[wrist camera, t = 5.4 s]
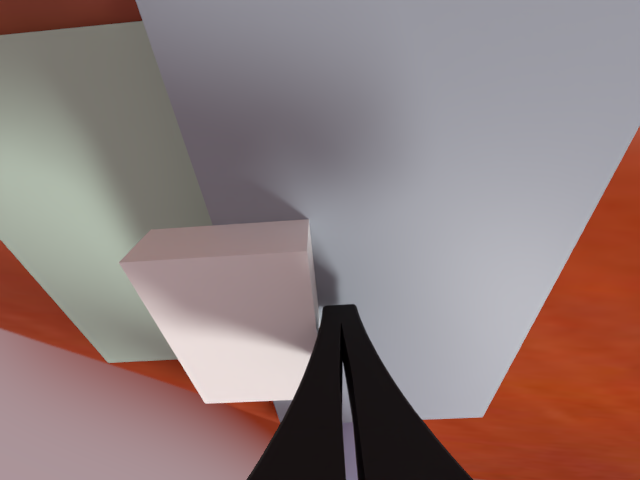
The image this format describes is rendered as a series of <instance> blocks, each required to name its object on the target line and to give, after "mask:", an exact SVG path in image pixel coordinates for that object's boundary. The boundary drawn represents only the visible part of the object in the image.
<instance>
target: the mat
mask: <svg viewBox="0 0 640 480" xmlns="http://www.w3.org/2000/svg"><path fill="white" fill-rule="evenodd" d="M197 226H212V222H211V219H210V216H209V213H208V210H207V207H206V204H205V201H204V198H203V195H202V193H201V190H200V187H199V184H198V181H197V178H196V175H195V172H194V169H193V166H192V163H191V160H190V158H189V155H188V152H187V149H186V146H185V143H184V140H183V137H182V134H181V131H180V128H179V126H178V123H177V120H176V117H175V114H174V111H173V108H172V105H171V102H170V99H169V96H168V93H167V91H166V88H165V85H164V82H163V79H162V76H161V73H160V70H159V67H158V64H157V61H156V58H155V56H154V53H153V50H152V47H151V44H150V41H149V38H148V35H147V32H146V29H145V26H144V23H143V21H137V22H127V23H117V24H107V25H97V26H87V27H77V28H67V29H57V30H47V31H37V32H27V33H17V34H7V35H0V240H1V241H2V242H3V243H4V244H5V245H6V246H7V248H8V249H9V250H10V251H11V252H12V253H13V254H14V256H15V257H16V258H17V259H18V260H19V261H20V262H21V264H22V265H23V266H24V267H25V268H26V269H27V270H28V272H29V273H30V274H31V275H32V276H33V277H34V278H35V280H36V281H37V282H38V283H39V284H40V285H41V286H42V288H43V289H44V290H45V291H46V292H47V293H48V294H49V296H50V297H51V298H52V299H53V300H54V301H55V302H56V304H57V305H58V306H59V307H60V308H61V309H62V310H63V312H64V313H65V314H66V315H67V316H68V317H69V319H70V320H71V321H72V322H73V323H74V324H75V325H76V327H77V328H78V329H79V330H80V331H81V332H82V333H83V335H84V336H85V337H86V338H87V339H88V340H89V341H90V343H91V344H92V345H93V346H94V347H95V348H96V349H97V351H98V352H99V353H100V354H101V355H102V356H103V357H104V359H105V360H106V361H107V362H108V363H115V362H135V361H155V360H175V359H178V358H177V357H176V355H175V354H174V352H173V350H172V349H171V347H170V345H169V344H168V342H167V341H166V339H165V337H164V336H163V334H162V332H161V331H160V329H159V327H158V326H157V324H156V323H155V321H154V319H153V318H152V316H151V314H150V313H149V311H148V310H147V308H146V306H145V305H144V303H143V301H142V300H141V298H140V297H139V295H138V293H137V292H136V290H135V288H134V287H133V285H132V284H131V282H130V280H129V279H128V277H127V275H126V274H125V272H124V270H123V269H122V267H121V266H120V264H119V262H120V261H121V260H122V259H123V258H124V257H125V256H126V255H127V254H128V253H129V251H130V250H131V249H132V248H133V247H134V246H135V245H136V244H137V243H138V242H139V241H140V240H141V239H142V238H143V237H144V236H145V235H146V234H147V233H148V232H149V231H150V230H151V229H166V228H182V227H197Z"/></svg>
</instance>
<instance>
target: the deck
mask: <svg viewBox="0 0 640 480" xmlns="http://www.w3.org/2000/svg"><path fill="white" fill-rule="evenodd" d="M136 3H137V6H138V9H139V12H140V15H141V18H142V21H143V23H144V26H145V29H146V32H147V35H148V38H149V41H150V44H151V47H152V50H153V53H154V56H155V58H156V61H157V64H158V67H159V70H160V73H161V76H162V79H163V82H164V85H165V88H166V91H167V93H168V96H169V99H170V102H171V105H172V108H173V111H174V114H175V117H176V120H177V123H178V126H179V128H180V131H181V134H182V137H183V140H184V143H185V146H186V149H187V152H188V155H189V158H190V160H191V163H192V166H193V169H194V172H195V175H196V178H197V181H198V184H199V187H200V190H201V193H202V195H203V198H204V201H205V204H206V207H207V210H208V213H209V216H210V219H211V222H212V225H228V224H243V223H258V222H274V221H289V220H304V219H309V225H310V235H311V244H312V253H313V262H314V271H315V280H316V290H317V299H318V308H319V317H320V323H321V318H322V309H323V307H324V306H327V305H345V304H354V305H356V306H357V310H358V313H359V316H360V318H361V321H362V323H363V326H364V328H365V330H366V332H367V334H368V336H369V338H370V340H371V342H372V344H373V346H374V348H375V350H376V352H377V354H378V355H379V357H380V359H381V361H382V362H383V364H384V366H385V367H386V369H387V371H388V372H389V374H390V375H391V377H392V379H393V380H394V382H395V383H396V385H397V386H398V388H399V389H400V391H401V392H402V393H403V395H404V396H405V398H406V399H407V400H408V402H409V403H410V405H411V406H412V407H413V409H414V410H415V411H416V413H417V414H418V415H419V417H420V418H421V419H422V420H423V419H448V418H473V417H483V415H484V414H485V412H486V410H487V408H488V406H489V404H490V402H491V401H492V399H493V397H494V395H495V393H496V391H497V389H498V388H499V386H500V384H501V382H502V380H503V378H504V376H505V375H506V373H507V371H508V369H509V367H510V365H511V363H512V362H513V360H514V358H515V356H516V354H517V352H518V350H519V349H520V347H521V345H522V343H523V341H524V339H525V337H526V336H527V334H528V332H529V330H530V328H531V326H532V324H533V323H534V321H535V319H536V317H537V315H538V313H539V311H540V310H541V308H542V306H543V304H544V302H545V300H546V298H547V297H548V295H549V293H550V291H551V289H552V287H553V285H554V284H555V282H556V280H557V278H558V276H559V274H560V272H561V271H562V269H563V267H564V265H565V263H566V261H567V259H568V258H569V256H570V254H571V252H572V250H573V248H574V246H575V245H576V243H577V241H578V239H579V237H580V235H581V233H582V232H583V230H584V228H585V226H586V224H587V222H588V221H589V219H590V217H591V215H592V213H593V211H594V209H595V208H596V206H597V204H598V202H599V200H600V198H601V196H602V195H603V193H604V191H605V189H606V187H607V185H608V183H609V182H610V180H611V178H612V176H613V174H614V172H615V170H616V169H617V167H618V165H619V163H620V161H621V159H622V157H623V156H624V154H625V152H626V150H627V148H628V146H629V144H630V143H631V141H632V139H633V137H634V135H635V133H636V131H637V130H638V128H639V126H640V0H136ZM273 402H274V405H275V408H276V411H277V414H278V417H279V420H280V423H281V422H282V420H283V418H284V416H285V414H286V412H287V410H288V408H289V406H290V404H291V402H292V400H278V401H273ZM348 422H352V414H351V408H350V402H349V396H348V390H347V384H346V378H345V372H344V366H343V385H342V423H348Z"/></svg>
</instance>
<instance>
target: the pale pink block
mask: <svg viewBox="0 0 640 480" xmlns="http://www.w3.org/2000/svg"><path fill="white" fill-rule="evenodd" d="M119 264H120V266H121V267H122V269H123V270H124V272H125V274H126V275H127V277H128V279H129V280H130V282H131V284H132V285H133V287H134V288H135V290H136V292H137V293H138V295H139V297H140V298H141V300H142V301H143V303H144V305H145V306H146V308H147V310H148V311H149V313H150V314H151V316H152V318H153V319H154V321H155V323H156V324H157V326H158V327H159V329H160V331H161V332H162V334H163V336H164V337H165V339H166V341H167V342H168V344H169V345H170V347H171V349H172V350H173V352H174V354H175V355H176V357H177V358H178V360H179V362H180V363H181V365H182V367H183V368H184V370H185V371H186V373H187V375H188V376H189V378H190V380H191V381H192V383H193V384H194V386H195V388H196V389H197V391H198V393H199V394H200V396H201V398H202V399H203V401H204V402H205V403H229V402H254V401H278V400H293V398H294V396H295V393H296V391H297V389H298V387H299V385H300V382H301V380H302V378H303V375H304V373H305V370H306V367H307V365H308V362H309V360H310V357H311V354H312V351H313V348H314V345H315V342H316V338H317V335H318V331H319V327H320V317H319V308H318V299H317V290H316V280H315V271H314V262H313V253H312V244H311V235H310V225H309V219H304V220H289V221H274V222H258V223H243V224H228V225H212V226H197V227H182V228H166V229H151V230H150V231H149V232H148V233H147V234H146V235H145V236H144V237H143V238H142V239H141V240H140V241H139V242H138V243H137V244H136V245H135V246H134V247H133V248H132V249H131V250H130V251H129V253H128V254H127V255H126V256H125V257H124V258H123V259H122V260H121V261H120V262H119Z"/></svg>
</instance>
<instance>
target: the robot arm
mask: <svg viewBox="0 0 640 480" xmlns="http://www.w3.org/2000/svg"><path fill="white" fill-rule="evenodd" d="M343 366H344V372H345V378H346V384H347V390H348V396H349V402H350V408H351V414H352V422H348V423H342V385H343ZM247 480H473V479H472V478H471V477H470V476H469V475H468V474H467V473H466V471H465V470H464V469H463V468H462V467H461V466H460V465H459V464H458V462H457V461H456V460H455V459H454V458H453V457H452V456H451V455H450V453H449V452H448V451H447V450H446V449H445V447H444V446H443V445H442V444H441V443H440V442H439V440H438V439H437V438H436V437H435V436H434V434H433V433H432V432H431V430H430V429H429V428H428V427H427V425H426V424H425V423H424V422H423V420H422V419H421V418H420V417H419V415H418V414H417V413H416V411H415V410H414V409H413V407H412V406H411V405H410V403H409V402H408V400H407V399H406V398H405V396H404V395H403V393H402V392H401V391H400V389H399V388H398V386H397V385H396V383H395V382H394V380H393V379H392V377H391V375H390V374H389V372H388V371H387V369H386V367H385V366H384V364H383V362H382V361H381V359H380V357H379V355H378V354H377V352H376V350H375V348H374V346H373V344H372V342H371V340H370V338H369V336H368V334H367V332H366V330H365V328H364V326H363V323H362V321H361V318H360V316H359V313H358V310H357V306H356V305H354V304H345V305H327V306H324V307H323V309H322V318H321V323H320V327H319V331H318V335H317V338H316V342H315V345H314V348H313V351H312V354H311V357H310V360H309V362H308V365H307V367H306V370H305V373H304V375H303V378H302V380H301V382H300V385H299V387H298V389H297V391H296V393H295V396H294V398H293V400H292V402H291V404H290V406H289V408H288V410H287V412H286V414H285V416H284V418H283V420H282V422H281V423H280V425H279V427H278V429H277V431H276V432H275V434H274V436H273V438H272V439H271V441H270V443H269V444H268V446H267V448H266V450H265V451H264V453H263V455H262V456H261V458H260V460H259V461H258V463H257V464H256V466H255V468H254V469H253V471H252V472H251V474H250V475H249V477H248V478H247Z"/></svg>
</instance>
